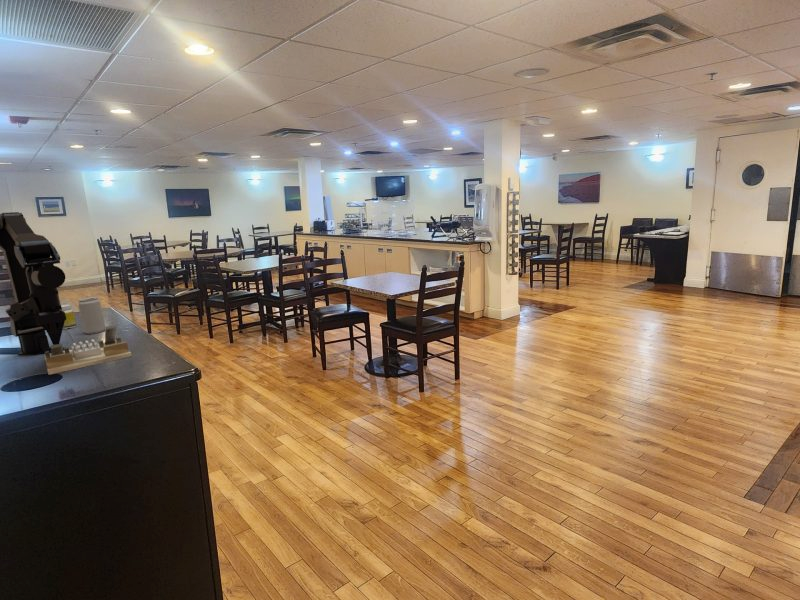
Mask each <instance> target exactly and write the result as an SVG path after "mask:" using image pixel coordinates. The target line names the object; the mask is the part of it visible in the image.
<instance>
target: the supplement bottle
mask: <svg viewBox="0 0 800 600" xmlns="http://www.w3.org/2000/svg"><path fill="white" fill-rule="evenodd" d="M61 307H62V311H64V312H65V315H66V319H67V320H65V322H64V326H63V330H68V329H67V328H71V329H74V328H77V322H76V318H75V313H74V309H72V305H71V304H62V305H61ZM73 327H74V328H73Z"/></svg>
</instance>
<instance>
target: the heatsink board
mask: <svg viewBox="0 0 800 600" xmlns="http://www.w3.org/2000/svg"><path fill="white" fill-rule="evenodd" d="M115 341H116V343H115V344H110V345H105V343H104V340H98V342H97V341H96V340H95V339H93V338H92V339H91V342H89V340H85V343H84V342H82V341H79V342H78V344H76V343H77V342H74V343H72V345H71V349H70V348H69V347H68V346H67V347H63V352H64V354H60V355H55V356H52V355H51V353H50V351H49V350H47V351H45V352H44V356H43V357H44V360H45V364H46V370H47V373H48V376H49V375H54V374H57V373H64V372H66V371H67V372H68V371H72V370H76V369H80V368H85V367H90V366H94V365H99V364H103V363H107V362H111V361H116V360H121V359H125V358H130V357H132V352H131V351H130V350H129V346H128V342H127V341H122V338H121V337H120V336H117V337H116V338H115Z"/></svg>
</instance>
